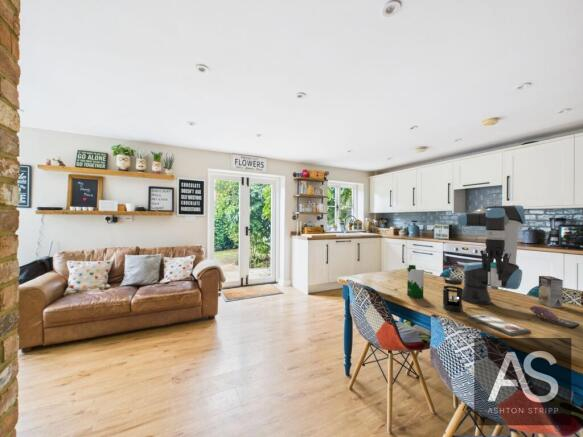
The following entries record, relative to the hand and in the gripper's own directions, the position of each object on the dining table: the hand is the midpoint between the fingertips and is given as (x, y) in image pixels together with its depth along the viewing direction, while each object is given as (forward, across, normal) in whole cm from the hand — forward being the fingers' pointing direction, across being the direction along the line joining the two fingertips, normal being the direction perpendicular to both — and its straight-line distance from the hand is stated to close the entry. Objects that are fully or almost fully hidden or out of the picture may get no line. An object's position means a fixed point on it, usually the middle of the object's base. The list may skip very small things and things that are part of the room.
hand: (494, 285), depth 126 cm
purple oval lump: (+17, +5, +26) cm, 32 cm away
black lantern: (+17, -16, -9) cm, 25 cm away
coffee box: (+16, -8, +55) cm, 58 cm away
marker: (+2, 0, 0) cm, 2 cm away
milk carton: (+17, -41, -11) cm, 46 cm away
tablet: (+17, +5, -6) cm, 19 cm away
